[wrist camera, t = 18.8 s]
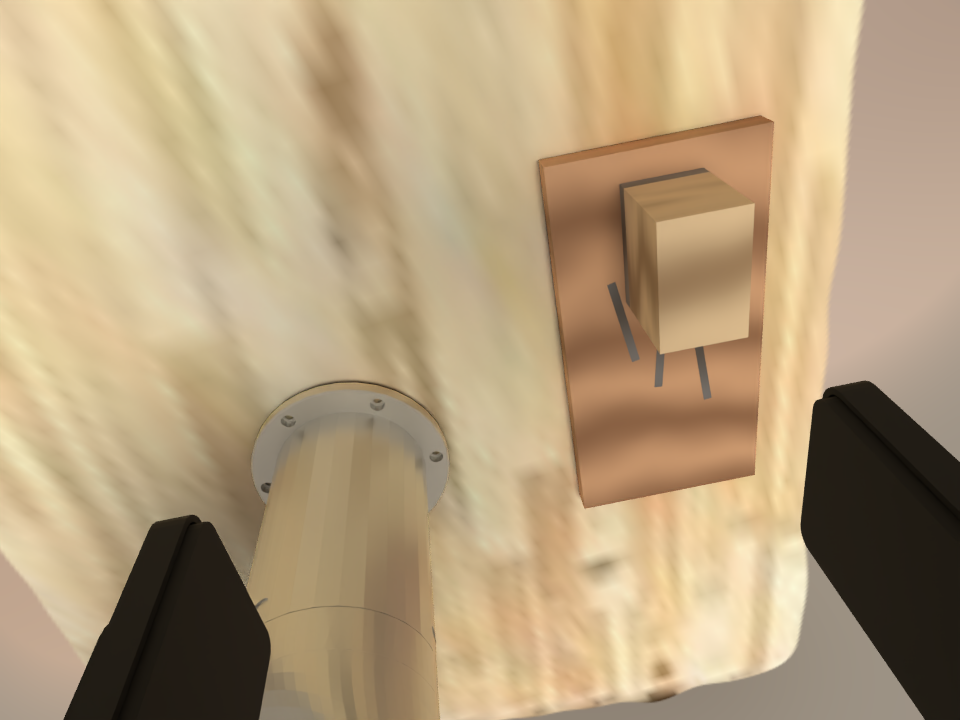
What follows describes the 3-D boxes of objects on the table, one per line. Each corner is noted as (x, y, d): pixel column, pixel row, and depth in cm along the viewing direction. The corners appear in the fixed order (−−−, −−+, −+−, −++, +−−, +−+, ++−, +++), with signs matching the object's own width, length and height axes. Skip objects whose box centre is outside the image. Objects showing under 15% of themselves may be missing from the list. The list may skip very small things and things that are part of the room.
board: (745, 460, 49) (754, 474, 48) (579, 493, 49) (584, 508, 48) (760, 115, 36) (774, 121, 35) (538, 160, 36) (543, 167, 35)
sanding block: (702, 287, 40) (748, 337, 34) (626, 302, 40) (660, 354, 34) (703, 167, 36) (754, 203, 31) (619, 183, 36) (656, 222, 31)
